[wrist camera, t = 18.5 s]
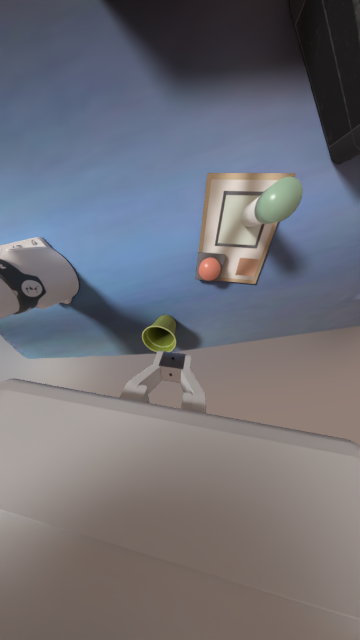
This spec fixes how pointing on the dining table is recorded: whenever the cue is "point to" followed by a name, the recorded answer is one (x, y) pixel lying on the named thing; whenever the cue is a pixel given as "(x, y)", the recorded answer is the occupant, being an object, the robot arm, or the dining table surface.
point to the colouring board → (235, 225)
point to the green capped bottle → (273, 203)
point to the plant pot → (160, 334)
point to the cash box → (333, 68)
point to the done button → (209, 268)
